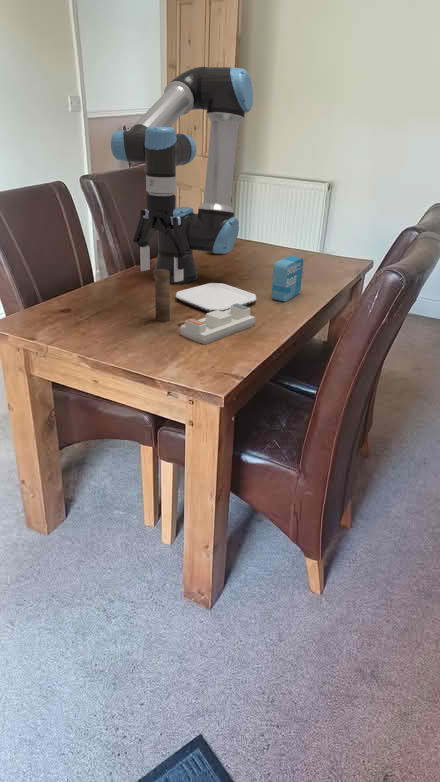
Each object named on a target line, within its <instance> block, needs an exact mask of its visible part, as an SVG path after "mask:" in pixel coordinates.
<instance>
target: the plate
mask: <svg viewBox="0 0 440 782" xmlns="http://www.w3.org/2000/svg"><path fill="white" fill-rule="evenodd" d="M175 298H176V299H177V300H179V301H181V302H182V303H184V304H187V305H189V306H192V307H194V308H197V309H200V310H203V311H205V312H207V313H210V312H213V311H216V310H219V311H222V312H223V311H226V310H229V309H231V305H233V304H236V303H237V304H240V305H243V306H249V305H250V304H252V303H254V302H256V301H257V295H256V294H255V293H253V292H252V293H251V292H250V291H246V290H244V289H241V288H238V287H236V286H235V287H234V286H232V285H229V284H226V283H222V282H221V283H220V282H219V283H218V282H209V283H205V284H201V285H197V286H194V287H190V288H186V289H183V290H179V291H178V290H177V292H176V294H175Z"/></svg>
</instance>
